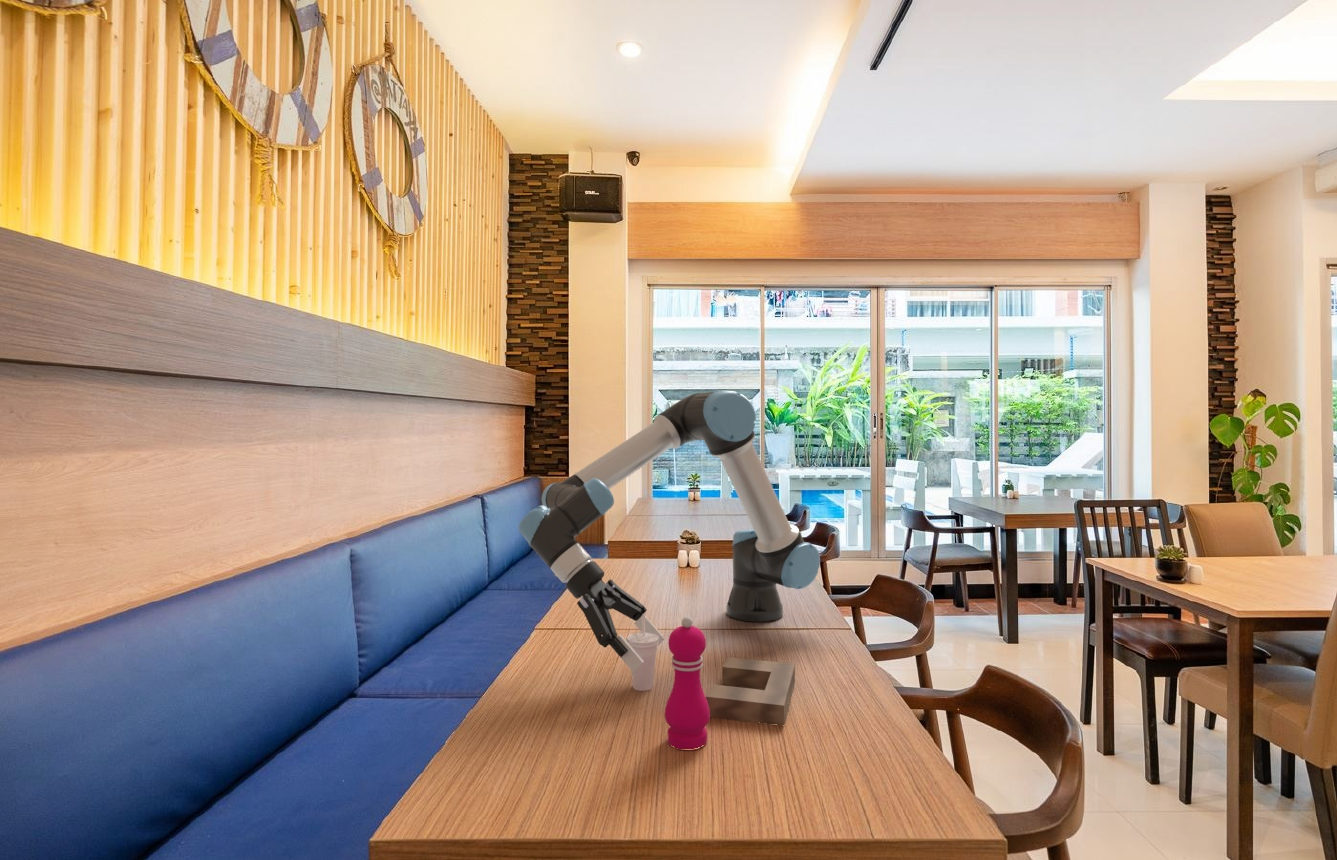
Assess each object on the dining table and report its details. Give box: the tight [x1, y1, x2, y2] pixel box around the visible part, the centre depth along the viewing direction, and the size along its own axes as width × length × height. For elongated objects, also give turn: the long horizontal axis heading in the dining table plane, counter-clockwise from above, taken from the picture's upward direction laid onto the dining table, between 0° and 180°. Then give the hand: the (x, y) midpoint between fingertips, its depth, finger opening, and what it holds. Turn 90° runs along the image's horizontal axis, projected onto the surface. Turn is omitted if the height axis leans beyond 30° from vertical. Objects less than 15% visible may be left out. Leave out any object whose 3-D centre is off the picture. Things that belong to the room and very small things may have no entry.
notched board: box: [705, 656, 796, 726], centre depth 119 cm, size 14×20×4 cm
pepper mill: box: [664, 616, 711, 750], centre depth 102 cm, size 7×7×20 cm
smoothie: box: [626, 613, 659, 692], centre depth 124 cm, size 6×6×14 cm
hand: (650, 654), depth 124 cm, fingers open, 13 cm apart
